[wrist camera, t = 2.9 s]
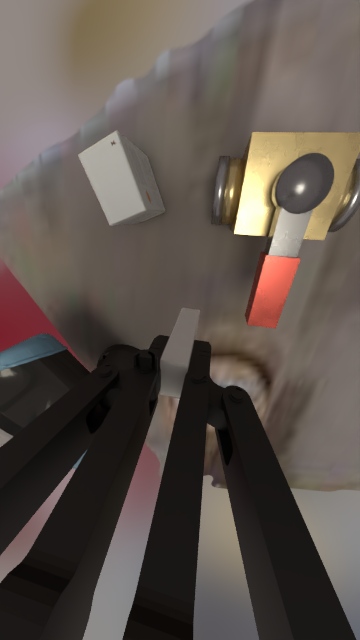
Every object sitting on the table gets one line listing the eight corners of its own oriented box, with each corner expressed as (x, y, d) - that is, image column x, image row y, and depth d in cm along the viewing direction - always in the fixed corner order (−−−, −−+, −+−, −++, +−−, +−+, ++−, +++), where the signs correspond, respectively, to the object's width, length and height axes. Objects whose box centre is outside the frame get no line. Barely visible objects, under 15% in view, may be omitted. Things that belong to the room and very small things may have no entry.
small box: (118, 171, 30) (74, 152, 21) (148, 155, 28) (115, 126, 19) (138, 224, 33) (108, 227, 24) (166, 212, 32) (146, 210, 23)
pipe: (212, 223, 31) (210, 225, 24) (219, 164, 27) (220, 147, 20) (317, 230, 29) (346, 234, 22) (341, 167, 25) (385, 149, 18)
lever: (279, 159, 18) (287, 151, 16) (329, 161, 17) (345, 152, 15) (241, 314, 26) (243, 324, 24) (274, 319, 25) (279, 328, 23)
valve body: (217, 228, 31) (217, 233, 22) (227, 159, 27) (232, 127, 17) (307, 234, 30) (349, 243, 20) (332, 161, 25) (403, 126, 16)
